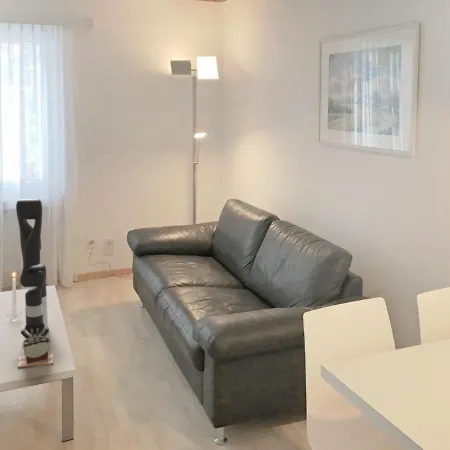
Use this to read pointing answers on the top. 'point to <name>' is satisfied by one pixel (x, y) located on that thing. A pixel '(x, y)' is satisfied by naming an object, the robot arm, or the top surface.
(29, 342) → the food container
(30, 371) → the top surface
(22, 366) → the picture board
